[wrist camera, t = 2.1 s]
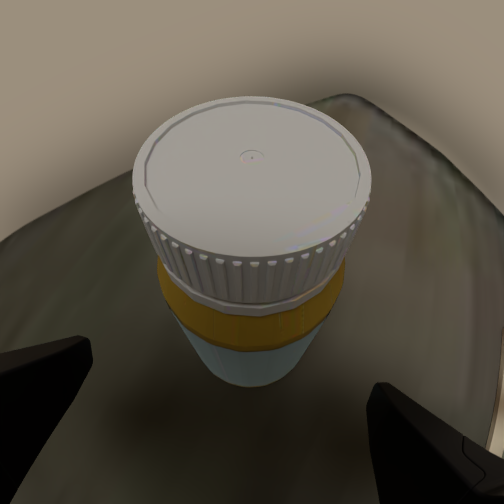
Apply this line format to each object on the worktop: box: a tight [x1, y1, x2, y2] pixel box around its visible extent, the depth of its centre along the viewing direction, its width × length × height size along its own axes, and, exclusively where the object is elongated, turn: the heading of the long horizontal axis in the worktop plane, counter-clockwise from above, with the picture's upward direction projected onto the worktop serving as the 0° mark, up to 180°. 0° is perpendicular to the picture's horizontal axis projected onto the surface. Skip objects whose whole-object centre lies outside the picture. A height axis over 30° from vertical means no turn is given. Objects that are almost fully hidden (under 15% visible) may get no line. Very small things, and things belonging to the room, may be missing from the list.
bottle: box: [133, 96, 371, 388], centre depth 14 cm, size 7×7×15 cm
